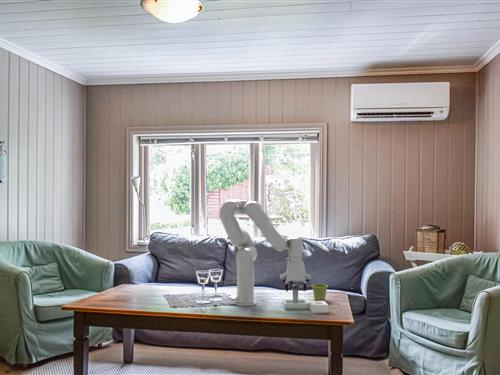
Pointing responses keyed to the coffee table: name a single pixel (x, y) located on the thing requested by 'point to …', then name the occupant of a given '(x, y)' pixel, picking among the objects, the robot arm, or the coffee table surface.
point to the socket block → (318, 306)
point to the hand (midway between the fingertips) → (295, 290)
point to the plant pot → (319, 291)
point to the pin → (295, 293)
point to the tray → (295, 304)
